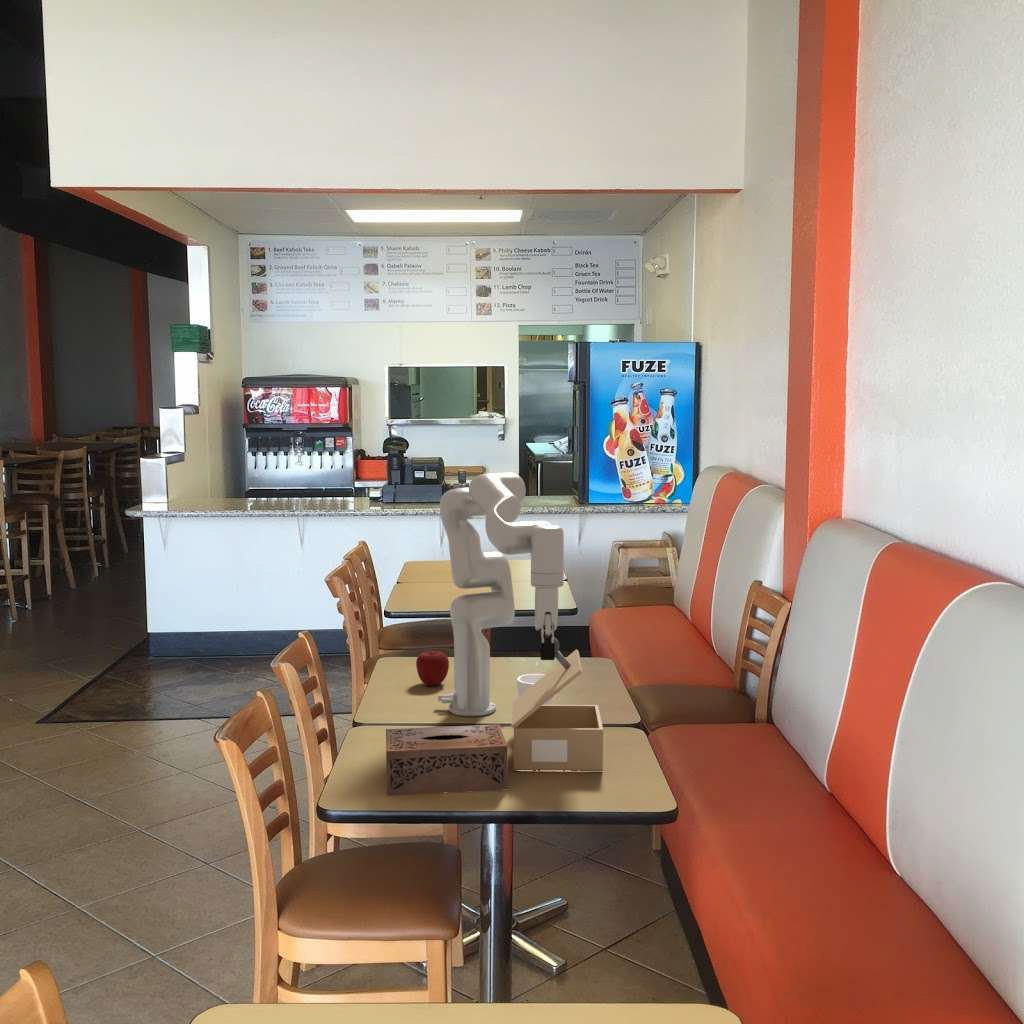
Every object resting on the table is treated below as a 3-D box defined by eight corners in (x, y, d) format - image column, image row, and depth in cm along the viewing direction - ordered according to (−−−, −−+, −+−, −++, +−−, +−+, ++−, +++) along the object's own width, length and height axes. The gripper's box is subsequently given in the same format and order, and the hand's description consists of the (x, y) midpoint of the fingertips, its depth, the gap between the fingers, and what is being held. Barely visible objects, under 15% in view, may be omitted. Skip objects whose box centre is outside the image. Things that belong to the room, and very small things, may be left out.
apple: (420, 679, 304) (420, 646, 302) (452, 680, 302) (451, 647, 301) (413, 688, 294) (412, 654, 293) (445, 689, 293) (445, 655, 292)
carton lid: (513, 728, 228) (485, 696, 227) (515, 703, 246) (489, 673, 245) (582, 672, 226) (554, 639, 225) (578, 651, 244) (552, 621, 244)
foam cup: (535, 720, 266) (535, 671, 264) (561, 728, 259) (561, 678, 258) (509, 728, 259) (509, 678, 257) (535, 737, 252) (535, 686, 251)
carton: (513, 772, 229) (513, 729, 228) (515, 744, 247) (515, 704, 246) (602, 772, 229) (603, 729, 228) (597, 745, 247) (597, 705, 246)
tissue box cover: (499, 766, 233) (499, 724, 232) (507, 790, 219) (507, 746, 218) (386, 772, 230) (385, 729, 229) (387, 796, 216) (386, 751, 215)
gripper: (530, 572, 242) (530, 648, 244) (531, 585, 225) (531, 666, 227) (561, 572, 242) (561, 648, 244) (565, 585, 225) (565, 666, 227)
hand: (547, 656), depth 235 cm, fingers closed on carton lid, 4 cm apart
